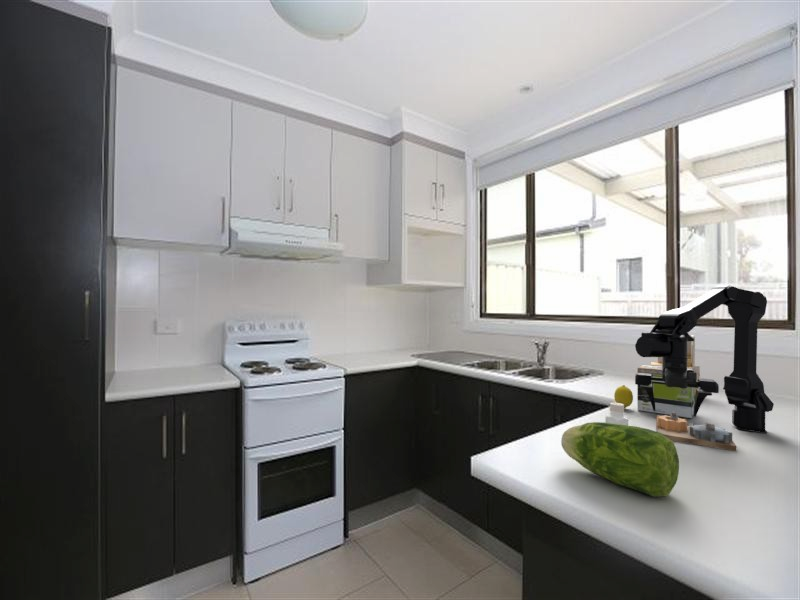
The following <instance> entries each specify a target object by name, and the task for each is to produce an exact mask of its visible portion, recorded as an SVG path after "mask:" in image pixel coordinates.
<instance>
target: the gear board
mask: <svg viewBox="0 0 800 600" xmlns="http://www.w3.org/2000/svg"><path fill="white" fill-rule="evenodd" d="M669 416H670V420H678V418H679V416H676V413H675V412H672V415H669ZM655 427H656V432H659V433H661V434H663V435H664V436H666V437H667V438H668V439H670V440H671V441H673V442H680V443H685V444H692V445H698V446H704V447H709V448H710V447H711V448H715V449H716V448H717V449H722V450H728V451H734V452H737V448H738V447H737V444H736V443H735V441H734V440H733V433H732V431H731V432H730V431H728V430H726V429H725V428H719V427H716V425H715V424H714V423H710V422H707V423H705V425H699V424H692V426H688V425H687V431H684V430H683V431H676V430H667V429H665V428H662V427H658V426H657V421H655Z"/></svg>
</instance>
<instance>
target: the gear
mask: <svg viewBox="0 0 800 600" xmlns="http://www.w3.org/2000/svg"><path fill="white" fill-rule="evenodd" d="M656 422H657V426H658V427H662V428H665V429H667V430H676V431H683V430H684V431H687V426H688V421H687V419H686V418H682V417H678V420H670V415H667V414H663V415H656Z"/></svg>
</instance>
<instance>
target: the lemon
mask: <svg viewBox="0 0 800 600" xmlns="http://www.w3.org/2000/svg"><path fill="white" fill-rule="evenodd" d="M613 397H614V402H615V403H621V404H624V409H626V408H628V407H629V406H631V405H632V403H633V401H634V395H633V391H632V390H631V389H630V388H629V387H628V386H626V385H624V384H623V385H621V386H618V387H616V389H615V391H614V396H613Z"/></svg>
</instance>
